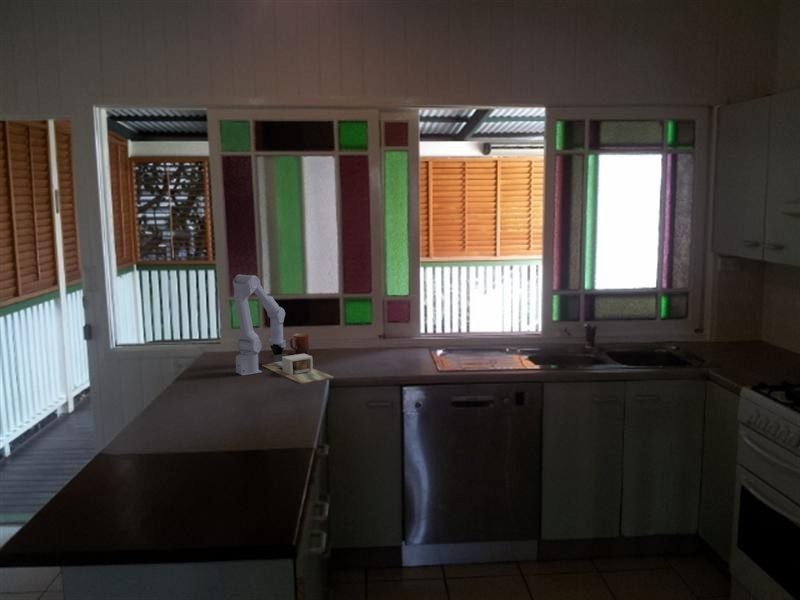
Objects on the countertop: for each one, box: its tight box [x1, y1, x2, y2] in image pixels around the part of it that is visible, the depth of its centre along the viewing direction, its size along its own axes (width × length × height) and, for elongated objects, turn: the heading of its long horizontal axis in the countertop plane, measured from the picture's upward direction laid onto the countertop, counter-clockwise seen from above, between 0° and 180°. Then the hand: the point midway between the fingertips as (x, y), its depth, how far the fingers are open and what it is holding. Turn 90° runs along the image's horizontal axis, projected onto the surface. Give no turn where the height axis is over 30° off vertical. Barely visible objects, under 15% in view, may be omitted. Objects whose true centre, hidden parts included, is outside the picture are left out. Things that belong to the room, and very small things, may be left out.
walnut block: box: [292, 360, 307, 371], centre depth 281 cm, size 5×5×4 cm
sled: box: [272, 353, 310, 374], centre depth 287 cm, size 7×23×4 cm, turn 36°
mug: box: [289, 332, 311, 355], centre depth 316 cm, size 12×9×10 cm
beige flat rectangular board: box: [261, 362, 334, 385], centre depth 284 cm, size 16×39×1 cm, turn 36°
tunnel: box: [282, 354, 314, 375], centre depth 282 cm, size 11×8×7 cm
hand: (277, 360), depth 298 cm, fingers closed
